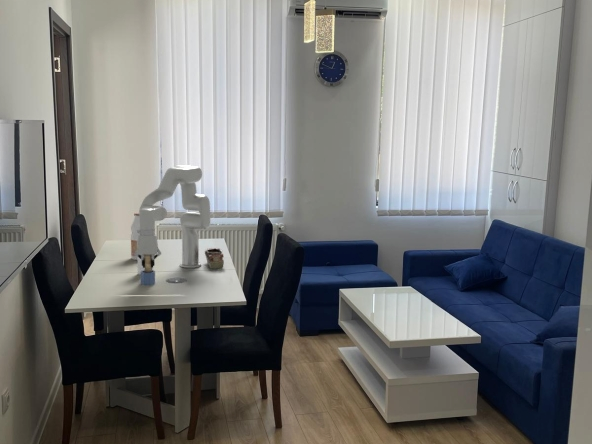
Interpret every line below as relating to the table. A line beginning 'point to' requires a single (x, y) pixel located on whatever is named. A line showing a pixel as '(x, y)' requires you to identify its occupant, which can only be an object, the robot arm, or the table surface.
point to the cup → (147, 278)
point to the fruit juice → (135, 235)
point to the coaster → (176, 280)
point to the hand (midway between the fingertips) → (148, 266)
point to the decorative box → (214, 258)
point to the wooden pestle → (148, 263)
